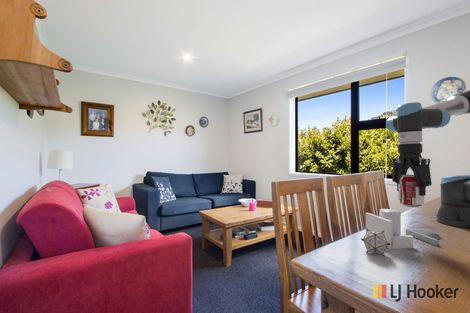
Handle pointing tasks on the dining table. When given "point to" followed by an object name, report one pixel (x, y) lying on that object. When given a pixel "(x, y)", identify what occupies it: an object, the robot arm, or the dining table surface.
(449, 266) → the dining table surface
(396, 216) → the dispenser rack
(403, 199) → the soda can
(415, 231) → the coaster
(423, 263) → the dining table surface
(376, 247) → the game die
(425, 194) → the robot arm
